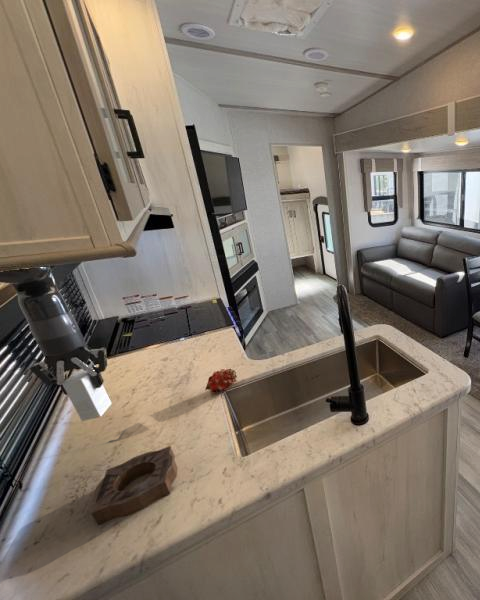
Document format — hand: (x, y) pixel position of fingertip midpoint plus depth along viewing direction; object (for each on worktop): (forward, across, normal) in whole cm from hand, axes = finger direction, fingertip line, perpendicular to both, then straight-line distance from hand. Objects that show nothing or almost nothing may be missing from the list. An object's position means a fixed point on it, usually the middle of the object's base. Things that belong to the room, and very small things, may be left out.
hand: (85, 390), depth 81 cm
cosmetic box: (+8, 0, 0) cm, 8 cm away
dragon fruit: (+24, -28, -20) cm, 43 cm away
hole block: (+24, -7, +15) cm, 29 cm away
